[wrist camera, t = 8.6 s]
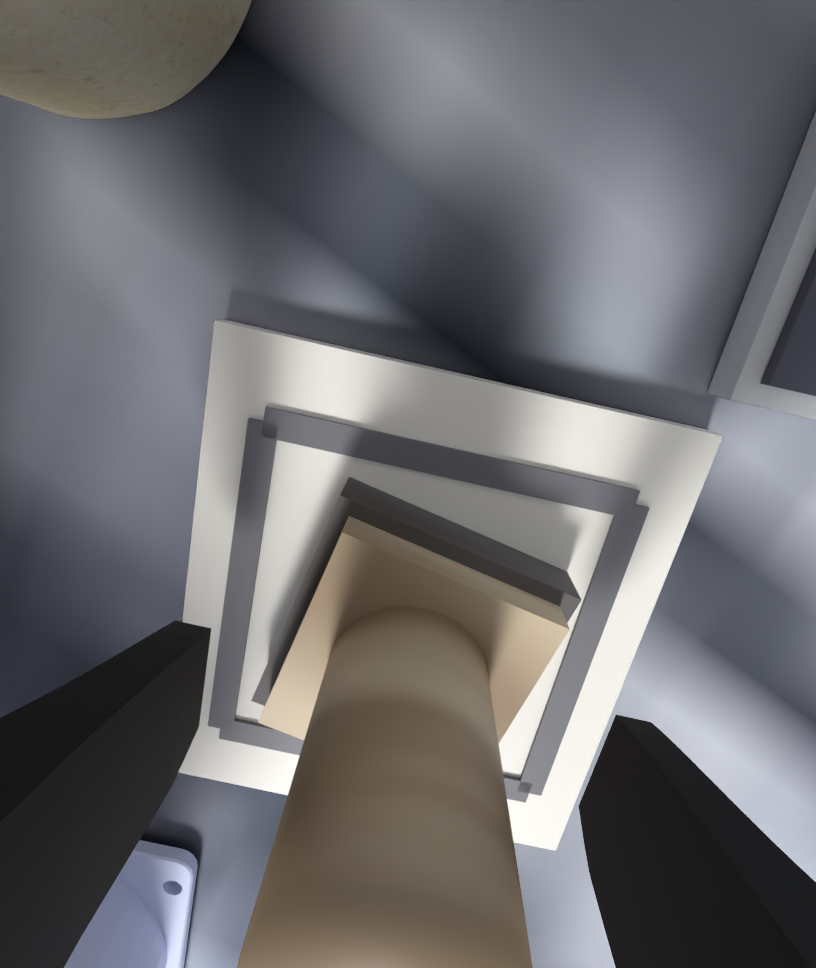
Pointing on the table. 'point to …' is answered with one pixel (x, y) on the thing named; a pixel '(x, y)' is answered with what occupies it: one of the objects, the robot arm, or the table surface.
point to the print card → (447, 493)
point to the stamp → (402, 743)
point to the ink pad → (779, 308)
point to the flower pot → (111, 52)
